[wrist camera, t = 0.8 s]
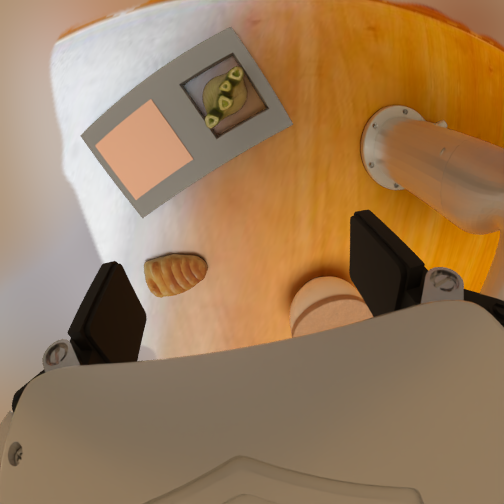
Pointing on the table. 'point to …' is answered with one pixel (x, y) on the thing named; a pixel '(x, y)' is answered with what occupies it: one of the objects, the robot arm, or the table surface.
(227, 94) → the fennel bulb
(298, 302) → the lidded bowl
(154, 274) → the pastry
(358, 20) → the table surface
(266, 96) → the holder board
